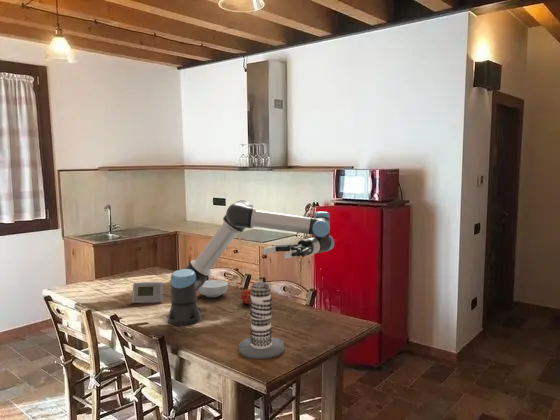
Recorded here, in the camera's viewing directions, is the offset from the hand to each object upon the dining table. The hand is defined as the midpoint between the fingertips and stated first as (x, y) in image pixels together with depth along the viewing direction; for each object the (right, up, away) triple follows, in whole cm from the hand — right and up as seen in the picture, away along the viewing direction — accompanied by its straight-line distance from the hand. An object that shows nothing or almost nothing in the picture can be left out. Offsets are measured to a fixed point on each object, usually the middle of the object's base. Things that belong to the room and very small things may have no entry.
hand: (274, 253), depth 199 cm
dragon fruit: (-13, -31, +43) cm, 55 cm away
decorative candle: (-5, -35, -17) cm, 39 cm away
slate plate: (-5, -37, -16) cm, 41 cm away
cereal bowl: (-35, -30, +59) cm, 75 cm away
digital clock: (-69, -31, +48) cm, 89 cm away
